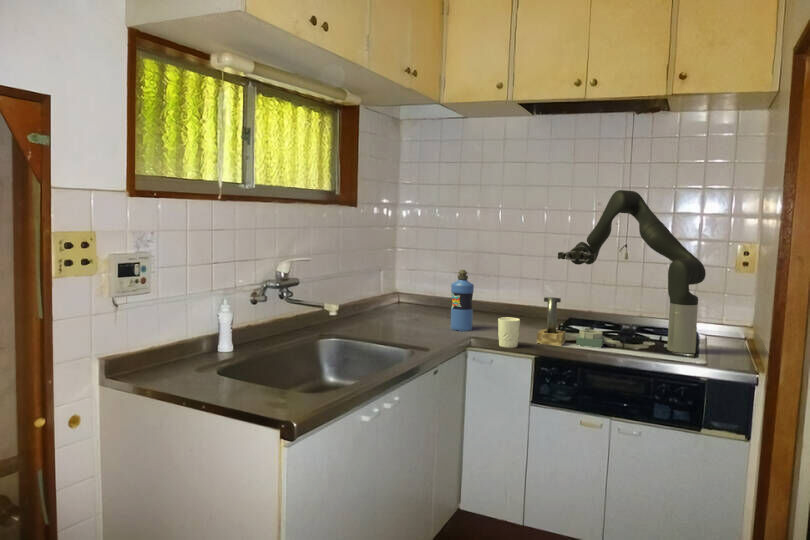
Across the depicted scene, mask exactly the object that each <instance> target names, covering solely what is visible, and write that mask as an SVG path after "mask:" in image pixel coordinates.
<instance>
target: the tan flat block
mask: <svg viewBox="0 0 810 540" xmlns="http://www.w3.org/2000/svg"><path fill="white" fill-rule="evenodd" d="M566 333H567V331H566V330H557V329H556V334H553V333H547V328H546V329H545V328H542V329H540V330H539V331H538V332H537V333H536V344H537V343H540V344H539V345H547V344H548V346H562V345H563V344H564V343H565V342H566Z"/></svg>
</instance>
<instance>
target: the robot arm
mask: <svg viewBox="0 0 810 540" xmlns="http://www.w3.org/2000/svg"><path fill="white" fill-rule="evenodd" d="M620 213H621V214H628V215H631V216H632V217H633V218H634V219H636V221H637V223H638V228H639V231H638V232H639V235H640V237H641V238H642V240H643V241H644V242H645V243H646V245H647V246H648V247H649V248H650V249H652V250H653V251H654V252H656V253H657V254H659V255H661V256H662V257H665V258H667V259H668V260H669V261H671V263H670V264H669V266H668V267H669V268H668V269H667V293H668V297H669V310H668V327H667V331H668V332H667V342H666V343H667V345H666V346H667V348H666V349H667V351H670V352H674V353H679V354H696V349H697V348H696V347H697V346H696V345H697V330H698V311H699V310H698V309H699V297H698V296H697V295H695V294H694V293H691V291H690V285H692V286H693V285H698V284H701V283H702V282H703V281H704V280H705V279H706V268H705V265H704V264H703V263H702V262H701V260H700V259H698V258H697V257H696V256H695V255H694V254H692V252H690V251H689V250H688V249H687V248H686V247H685V246H684V245H683V244H682V243H681V242H680V241H679V240H678V239H677V237H676V236H674V234H672V232H671V230H670V229H668V227H667V226H666V225H665V224H664V222H662V221H661V220H660V219H659V218H658V217H657V216H656V214H655V213H654V212H653V211H652V210H651V208H649V206H648V204H647V203H646V201H645V200H644V198H643V197H642V195H640V194H639V193H638V192H637V191H635V190H626V189H625V190H624V189H619V190H616V191H614V192H613V194H612V195H611V196H610V198H609V201H608V202H607V205H606V206H605V208H604V210H603V212H602V214H601V216H600V218H599V221H598V222H597V223H596V224H595V226H594V228H593V229H592V230H591V231H590V233H589V234H588V235H587V237H586V242H585V241H580V242H578V243H577V244H576V245H575V246H574V247H572V249H570V251H566V252H564V251H560V252H559V251H558V253H557V260H560V259H561V260H566V261H570V262H571V263H573V264H575V265H583V264H586V265H593V264H594V263H595V262H596V260H597V259H598V256H599V253H600V250H601V248H602V247H603V245H604V244H605V242H606V241H607V239H608V238H609V237H610V235H611V233H612V223H613V220H614V219H615V218H616V216H618V215H619V214H620Z"/></svg>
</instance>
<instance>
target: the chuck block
mask: <svg viewBox="0 0 810 540" xmlns="http://www.w3.org/2000/svg"><path fill="white" fill-rule="evenodd" d="M575 342H576V343H575V345H580V346H579V347H584V346H592V347H591V348H594V347H602V346H603V347H604V345H605V344H613V345H621V340H612V339H605V335H603V331H601V330H596V329H580V330H579V334H578V335H577V336H576V341H575ZM603 344H604V345H603ZM603 347H602V348H603Z"/></svg>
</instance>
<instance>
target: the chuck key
mask: <svg viewBox="0 0 810 540" xmlns="http://www.w3.org/2000/svg"><path fill="white" fill-rule="evenodd" d="M543 302H547V310H546V311H547V316H546V317H547V318H546V320H547V321H546V329H547V333H553V334H556V330H557V319H558V317H557V316H558V313H557V312H558V310H557V309H558V303H561V302H562V298H561V297H548V296H547V297H544V298H543Z"/></svg>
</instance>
